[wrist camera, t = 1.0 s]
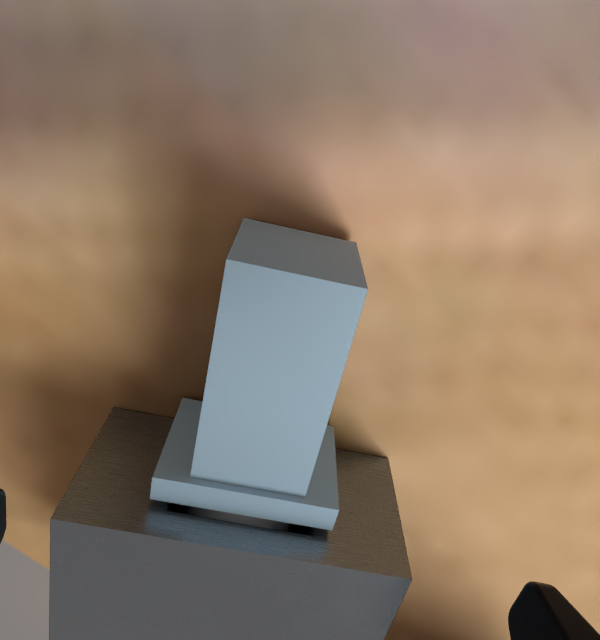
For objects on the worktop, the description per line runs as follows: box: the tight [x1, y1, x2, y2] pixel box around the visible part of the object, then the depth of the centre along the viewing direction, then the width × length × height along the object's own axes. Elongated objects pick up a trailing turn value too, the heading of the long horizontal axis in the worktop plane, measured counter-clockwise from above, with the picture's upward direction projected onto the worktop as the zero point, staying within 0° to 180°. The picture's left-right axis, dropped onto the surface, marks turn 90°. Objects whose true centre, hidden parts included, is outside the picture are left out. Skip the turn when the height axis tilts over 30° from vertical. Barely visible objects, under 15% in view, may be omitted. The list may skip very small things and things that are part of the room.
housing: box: [49, 407, 412, 640], centre depth 22 cm, size 8×12×6 cm, turn 78°
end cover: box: [150, 218, 368, 532], centre depth 20 cm, size 16×6×5 cm, turn 168°
